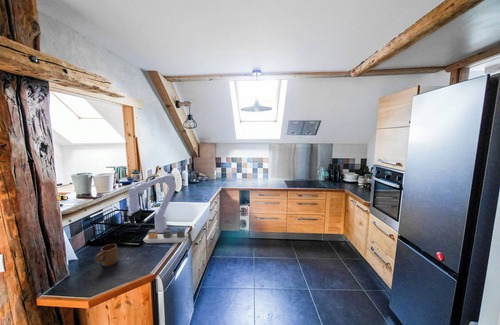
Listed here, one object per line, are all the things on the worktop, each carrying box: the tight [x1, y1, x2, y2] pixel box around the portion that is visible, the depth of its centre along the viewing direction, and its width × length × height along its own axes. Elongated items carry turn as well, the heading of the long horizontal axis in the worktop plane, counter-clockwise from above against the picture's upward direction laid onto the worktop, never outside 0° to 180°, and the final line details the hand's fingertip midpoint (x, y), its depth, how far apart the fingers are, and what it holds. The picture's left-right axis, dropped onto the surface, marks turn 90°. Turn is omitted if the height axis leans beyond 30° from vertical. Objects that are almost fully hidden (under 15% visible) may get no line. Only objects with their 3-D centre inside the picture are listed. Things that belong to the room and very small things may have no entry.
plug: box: [147, 228, 158, 239], centre depth 140 cm, size 4×4×7 cm
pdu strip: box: [142, 228, 189, 244], centre depth 140 cm, size 7×28×7 cm, turn 94°
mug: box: [94, 243, 119, 267], centre depth 113 cm, size 12×8×9 cm, turn 167°
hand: (135, 221), depth 148 cm, fingers open, 7 cm apart
